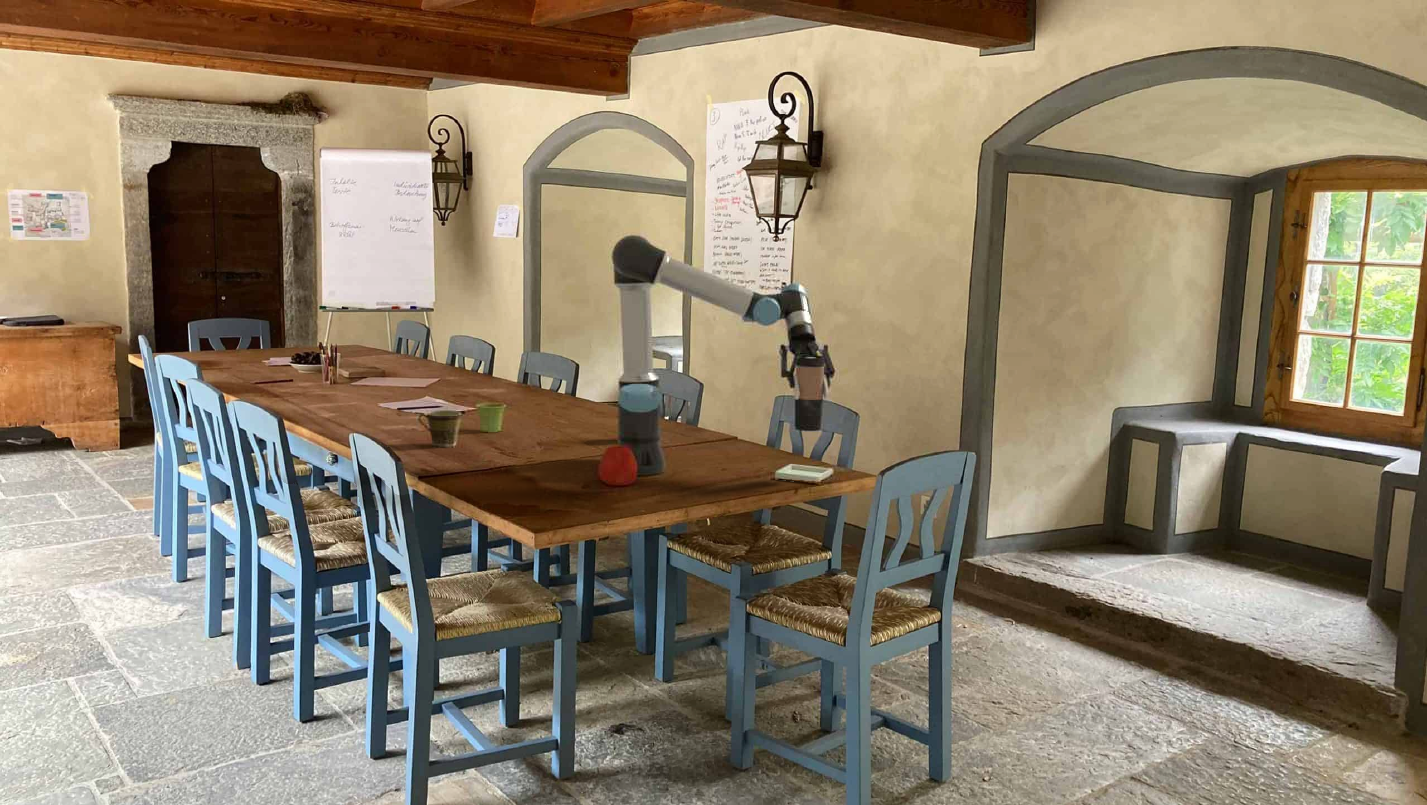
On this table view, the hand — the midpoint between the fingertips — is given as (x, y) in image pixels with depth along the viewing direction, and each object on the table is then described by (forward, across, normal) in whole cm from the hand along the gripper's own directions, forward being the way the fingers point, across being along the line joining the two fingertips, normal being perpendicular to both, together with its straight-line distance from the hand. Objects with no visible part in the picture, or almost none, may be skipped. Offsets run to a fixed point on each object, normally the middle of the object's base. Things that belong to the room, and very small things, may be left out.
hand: (812, 396), depth 298 cm
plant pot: (-37, +88, -70) cm, 118 cm away
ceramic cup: (-20, +102, -52) cm, 117 cm away
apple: (+18, +52, -15) cm, 57 cm away
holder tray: (+14, 0, -19) cm, 23 cm away
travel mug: (+4, 0, -9) cm, 10 cm away
